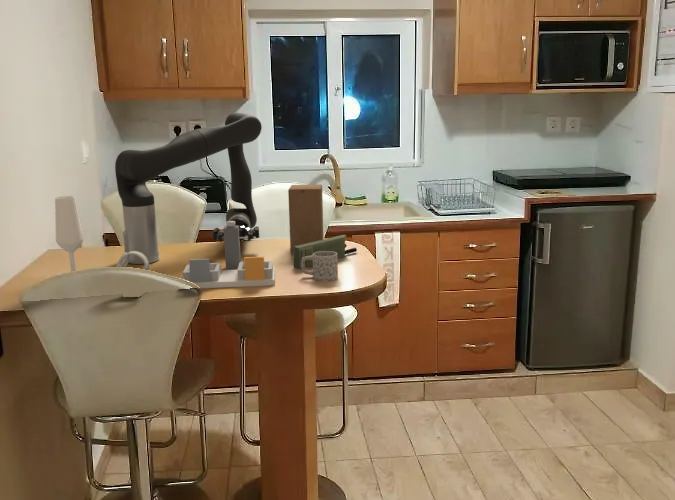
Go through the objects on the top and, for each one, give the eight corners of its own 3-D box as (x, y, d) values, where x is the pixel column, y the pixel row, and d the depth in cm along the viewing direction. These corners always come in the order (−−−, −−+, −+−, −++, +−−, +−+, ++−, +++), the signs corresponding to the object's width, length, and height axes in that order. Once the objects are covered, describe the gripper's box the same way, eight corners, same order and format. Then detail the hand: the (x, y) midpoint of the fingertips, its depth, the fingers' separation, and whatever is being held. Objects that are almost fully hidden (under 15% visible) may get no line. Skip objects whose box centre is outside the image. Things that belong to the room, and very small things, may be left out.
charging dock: (181, 289, 174) (178, 260, 172) (187, 276, 185) (185, 250, 184) (274, 285, 175) (273, 257, 174) (275, 273, 187) (274, 246, 185)
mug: (340, 275, 184) (339, 251, 183) (334, 281, 178) (334, 257, 176) (304, 273, 186) (304, 250, 185) (298, 280, 180) (297, 255, 179)
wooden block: (322, 252, 211) (320, 188, 206) (290, 252, 211) (288, 189, 207) (323, 245, 221) (322, 184, 216) (293, 245, 221) (291, 184, 216)
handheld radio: (291, 268, 193) (351, 252, 210) (299, 270, 191) (359, 254, 208) (291, 245, 191) (351, 231, 209) (299, 247, 189) (359, 233, 207)
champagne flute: (76, 292, 172) (66, 199, 167) (55, 290, 175) (44, 198, 169) (94, 285, 178) (85, 195, 173) (74, 283, 181) (64, 195, 175)
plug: (225, 269, 192) (223, 223, 189) (227, 266, 196) (224, 220, 193) (240, 269, 192) (237, 222, 189) (240, 265, 196) (238, 220, 193)
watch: (123, 291, 173) (119, 249, 170) (154, 291, 172) (150, 249, 170) (115, 297, 168) (110, 254, 165) (146, 297, 167) (142, 254, 164)
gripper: (215, 216, 217) (210, 226, 202) (259, 215, 218) (258, 224, 203) (216, 239, 219) (211, 250, 203) (260, 238, 220) (259, 249, 204)
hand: (234, 237), depth 203 cm, fingers open, 8 cm apart
